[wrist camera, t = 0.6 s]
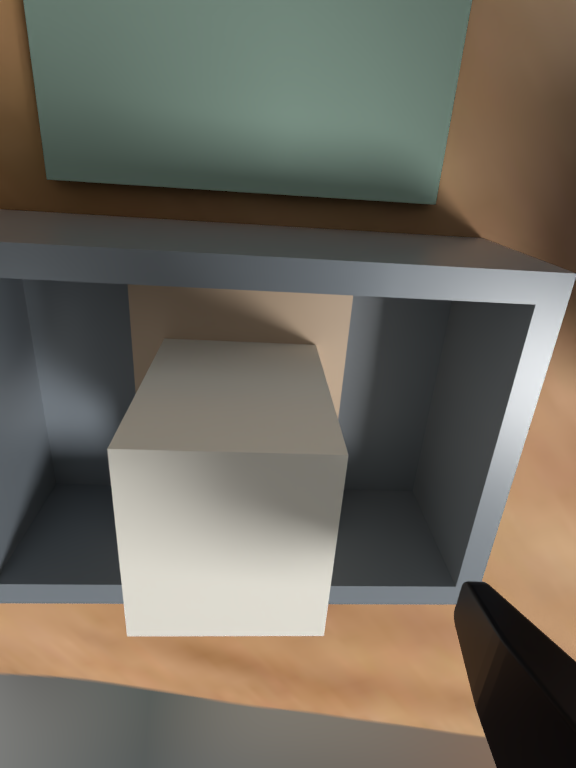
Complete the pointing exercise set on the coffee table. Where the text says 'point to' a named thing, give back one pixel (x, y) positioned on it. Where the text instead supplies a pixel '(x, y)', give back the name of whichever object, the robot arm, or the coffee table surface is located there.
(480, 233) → the coffee table surface
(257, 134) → the board
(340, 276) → the slot box
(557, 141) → the coffee table surface
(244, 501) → the block
